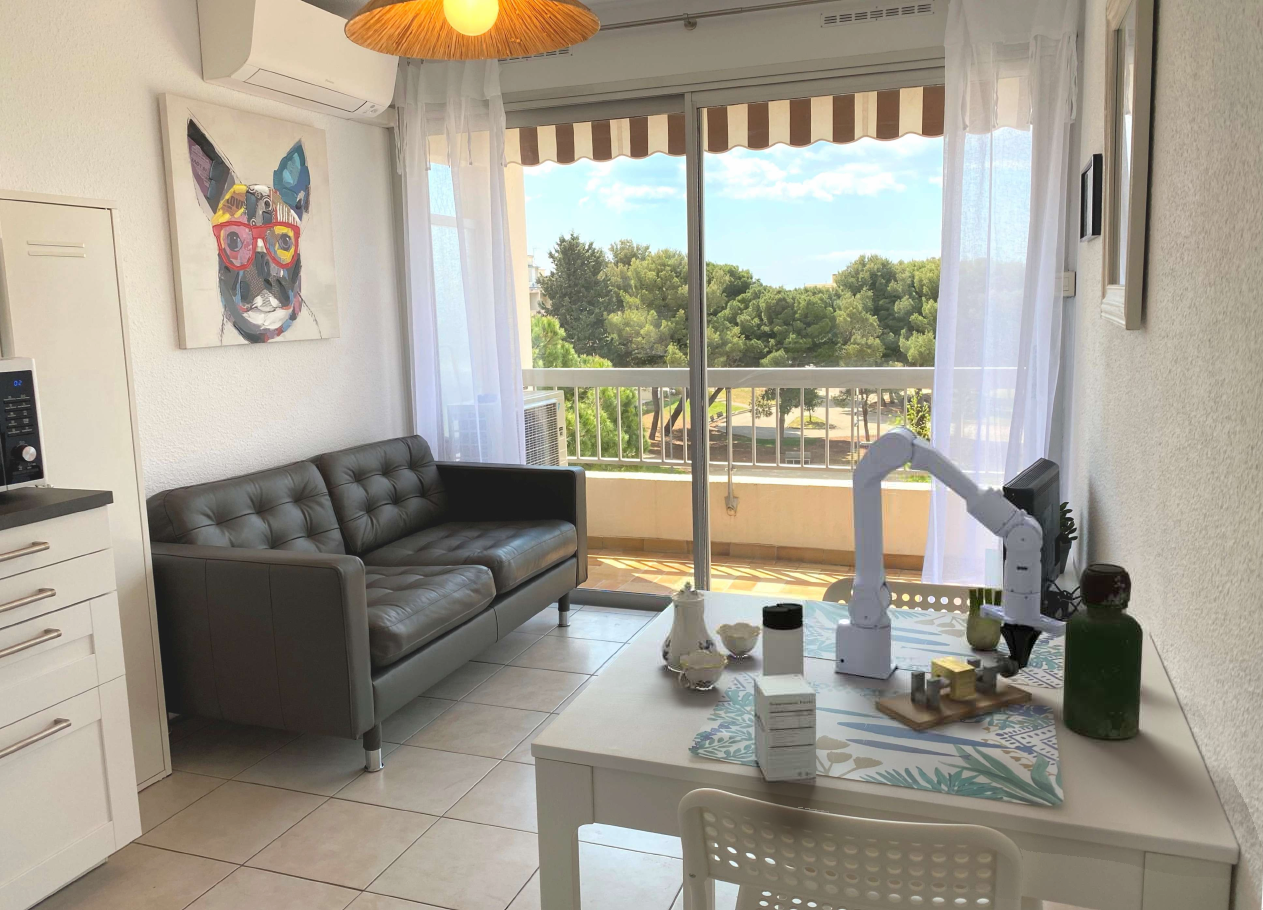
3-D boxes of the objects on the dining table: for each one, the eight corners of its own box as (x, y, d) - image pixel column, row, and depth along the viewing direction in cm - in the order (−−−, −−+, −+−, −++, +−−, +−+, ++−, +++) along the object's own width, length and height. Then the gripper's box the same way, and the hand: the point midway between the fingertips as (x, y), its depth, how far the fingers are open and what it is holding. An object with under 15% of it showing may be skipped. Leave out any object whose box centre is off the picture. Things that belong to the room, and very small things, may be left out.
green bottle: (1049, 725, 147) (1053, 567, 143) (1084, 707, 153) (1090, 555, 149) (1116, 748, 138) (1123, 580, 135) (1151, 728, 144) (1158, 568, 141)
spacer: (955, 700, 152) (956, 672, 151) (930, 687, 157) (931, 660, 156) (974, 695, 154) (975, 667, 153) (949, 683, 159) (950, 656, 158)
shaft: (947, 697, 153) (948, 675, 152) (931, 689, 156) (932, 668, 155) (1018, 679, 159) (1019, 658, 159) (1002, 672, 162) (1002, 652, 162)
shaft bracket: (917, 730, 146) (918, 692, 145) (875, 707, 155) (875, 672, 154) (1031, 700, 156) (1032, 665, 155) (985, 680, 165) (986, 647, 164)
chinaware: (724, 710, 160) (732, 616, 157) (632, 689, 166) (638, 598, 163) (764, 655, 186) (772, 574, 183) (684, 639, 192) (690, 559, 189)
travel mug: (780, 739, 145) (779, 612, 142) (755, 724, 150) (753, 601, 148) (813, 730, 147) (812, 605, 145) (787, 715, 153) (786, 595, 150)
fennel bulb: (1003, 648, 181) (1004, 586, 180) (993, 655, 178) (994, 592, 176) (973, 642, 185) (974, 582, 183) (962, 649, 181) (963, 587, 180)
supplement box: (753, 758, 139) (752, 675, 137) (803, 755, 139) (803, 672, 137) (764, 782, 131) (763, 695, 130) (817, 778, 132) (817, 691, 130)
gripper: (969, 584, 163) (968, 660, 165) (1049, 603, 151) (1047, 684, 153) (994, 577, 167) (992, 651, 169) (1073, 594, 156) (1070, 674, 157)
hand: (1020, 666), depth 161 cm, fingers closed
